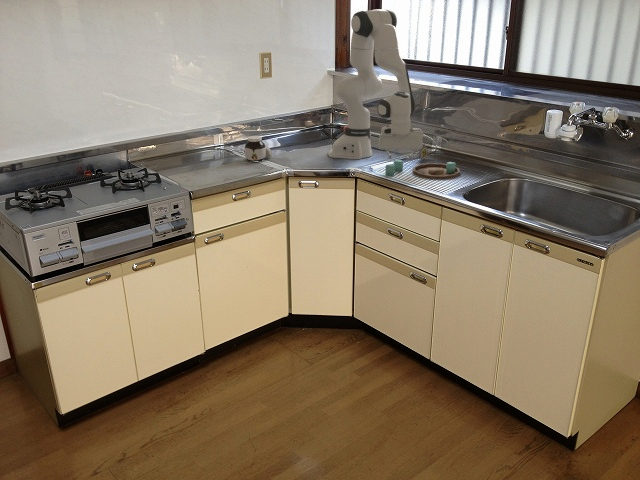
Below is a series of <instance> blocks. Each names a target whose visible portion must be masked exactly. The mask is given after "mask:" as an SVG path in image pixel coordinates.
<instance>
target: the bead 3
mask: <svg viewBox="0 0 640 480" xmlns="http://www.w3.org/2000/svg"><path fill="white" fill-rule="evenodd" d="M446 164H447V165H446V173H447V174H454V173H455V167H456V164H457V163H456V162H452V161H448V162H446Z"/></svg>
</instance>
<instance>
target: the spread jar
mask: <svg viewBox="0 0 640 480" xmlns="http://www.w3.org/2000/svg"><path fill="white" fill-rule="evenodd" d="M272 156H273V152H272V150H271V148H270V147H269V146H267V145H266V144H265V142H264V141H263V140H262V136H260V135H251V136H248V137H247V141H246V142H245V145H244V158H245V160H247V161H248V162H250V161H261V162H263V161H264V160H265V159H271V158H272ZM262 160H263V161H262Z"/></svg>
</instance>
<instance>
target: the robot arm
mask: <svg viewBox="0 0 640 480" xmlns="http://www.w3.org/2000/svg"><path fill="white" fill-rule="evenodd" d="M397 19H398V18H397V14H396V13H395V12H394V11H392V10H390V9H372V10H371V9H369V10H365V11H364V10H361V11H357V12H355V13H354V14H353V16H352V18H351V24H350V26H351V29H352V34H351V40H350V41H351V42H350V53H349V64H350V66H351V67H352V68H354V69H356V71H357V76H352V77H351V76H350V77H345V78H343V79H340V80H338V81H337V83H336V85H335V94H336V96H337V98H338V99H339V100H341V101H342V102H343V104H344V106H345V108H346V111H347V125H344V127H343V134H342V135H341V136H340V137H338V138H337V139H336V140H335V141H333V145H332V149H330V150H329V151H328V152H327V153H328V157H329V158H334V159H335V158H336V159H337V158H338V159H348V160H349V159H350V160H361V159H364V158H368V157H369V158H370V157H372V156H373V151H372V145H371V137H372V136H371V135H372V130H371V111H370V110H369V109H368V108H367V107H365V106H364V104H363V101H362V100H366V99H373V98H376V97H377V96H380V94H382V92H383V89H384V84H383V80H382V79H381V77H379V76H378V75H377V73H376V71H375V67H374V61H375V63H376V65H377V66H378V67H379V68H380V69H382V70H384V71H386V72H389V73H391V74H393V75H394V77H396V79H397V85H398V90H399V91H395V92H393V93H392V95H390V96H388V97H384V98H382V99H380V100H379V102H378V104H377V114H378V116H379V117H380V118H381V119H383V120H391V121H390V124H387V125H385V126H382V127H381V129H380V130H381V131H380V132H381V133H380V134H379V138H378V149H380V150H385V152H386V154H387V155H388V157H387V159H388V160H390V159H392V154H391V153H390V150H411V153H410V154H409V153H408V159H409V160H410V159H413V155H414V153H415V151H416V150H420V149H422V147H423V146H424V145H423V144H424V142H423V138H424V136H425V135H424V134H425V133H424V132H425V131H424V130H422V129H421V128H411V126H412V125H411V122H412V121H411V117H412V116H413V114H414V113H415V111H416V108H417V107H416V101H415V99H414V96H413V91H412V85H411V80H410V76H409V71H408V68H407V64H406V62H405V61H404V60H403V59H402V57H401V53H400V49H399V48H400V43H399V39H398V32H397V29H396V28H397V24H398V20H397ZM422 142H423V143H422Z"/></svg>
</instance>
